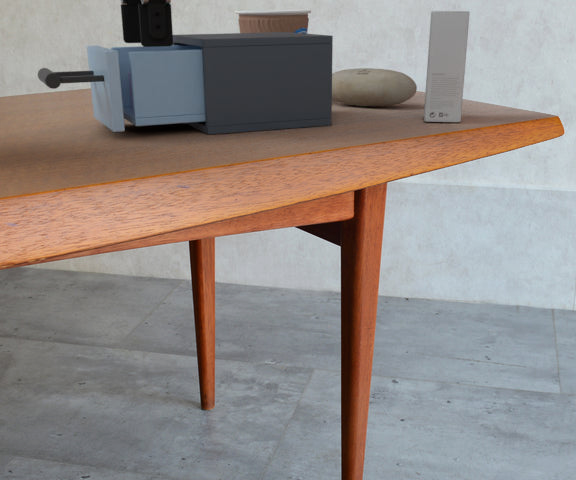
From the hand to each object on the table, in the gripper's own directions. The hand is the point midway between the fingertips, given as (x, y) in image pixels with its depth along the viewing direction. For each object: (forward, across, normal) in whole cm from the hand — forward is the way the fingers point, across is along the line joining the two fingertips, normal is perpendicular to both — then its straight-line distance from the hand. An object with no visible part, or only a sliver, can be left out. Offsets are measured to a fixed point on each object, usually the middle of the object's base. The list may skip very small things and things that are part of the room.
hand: (147, 43), depth 78 cm
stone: (+9, -6, +31) cm, 33 cm away
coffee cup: (+9, -17, +22) cm, 29 cm away
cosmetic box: (+9, +8, +33) cm, 35 cm away
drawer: (+8, 0, -2) cm, 8 cm away
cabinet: (+9, 0, +12) cm, 15 cm away
